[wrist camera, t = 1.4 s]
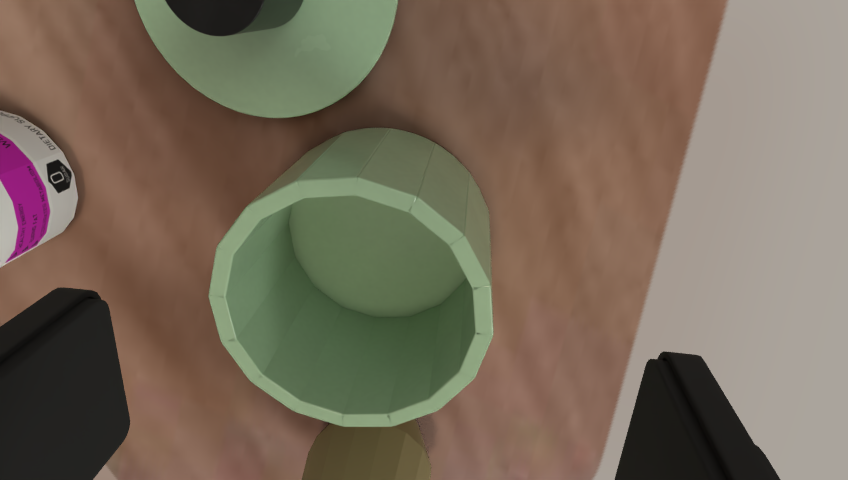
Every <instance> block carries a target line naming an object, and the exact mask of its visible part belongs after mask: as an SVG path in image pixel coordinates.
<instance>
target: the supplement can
mask: <svg viewBox="0 0 848 480" xmlns="http://www.w3.org/2000/svg"><path fill="white" fill-rule="evenodd" d="M77 201H78V194H77V188H76V182H75V177H74V173H73V171H72V169H71V167H70V165H69V163H68V161H67V159H66V158H65V156H64V154H63V152H62V151H61V150H60V148H59V147H58V146H57V145H56V144H55V143H54V142H53V141H52V140H51V139H50V138H49V136H48V135H47V134H46V133H45V132H44V131H43V130H41V129H40V128H38V127H36V126H35V125H33V124H32V123H30V122H29V121H27V120H25V119H24V118H22V117H21V116H18V115H14V114H11V113H7V112H4V111H0V267H2V266H4V265H6V264H7V263H9V262H11V261H13V260H14V259H16V258H18V257H20V256H21V255H23V254H25V253H27V252H29V251H30V250H32V249H34V248H36V247H37V246H39V245H41V244H43V243H44V242H46V241H48V240H50V239H52V238H53V237H55V236H57V235H59V234H60V233H62V232H63V231H64V230H65V228H66V227H67V226H68V225H69V223H70V222H71V221H72V219H73V218H74V215H75V210H76V205H77Z"/></svg>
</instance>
